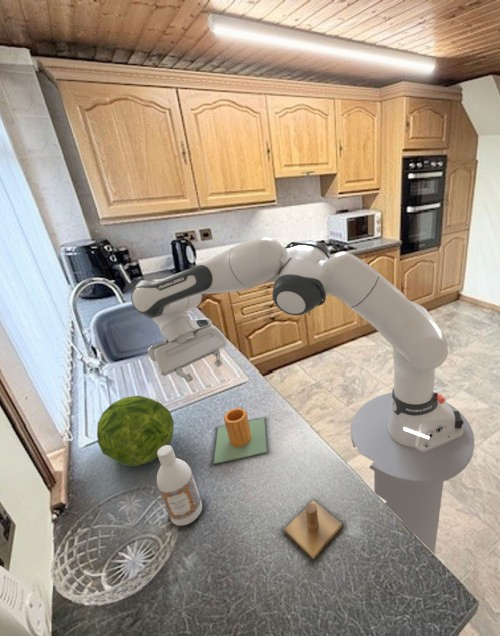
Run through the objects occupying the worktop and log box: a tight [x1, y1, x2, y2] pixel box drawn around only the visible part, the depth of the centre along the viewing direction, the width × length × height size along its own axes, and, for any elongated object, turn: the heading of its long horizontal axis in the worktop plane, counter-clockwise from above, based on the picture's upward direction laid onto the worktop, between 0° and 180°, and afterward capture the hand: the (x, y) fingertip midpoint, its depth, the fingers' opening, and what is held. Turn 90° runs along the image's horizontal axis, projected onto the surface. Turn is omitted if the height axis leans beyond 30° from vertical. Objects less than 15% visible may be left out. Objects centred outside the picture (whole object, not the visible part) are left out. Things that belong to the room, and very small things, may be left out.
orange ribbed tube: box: [223, 407, 251, 447], centre depth 99 cm, size 6×6×9 cm
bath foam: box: [156, 444, 203, 527], centre depth 77 cm, size 7×7×20 cm
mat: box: [213, 418, 268, 465], centre depth 101 cm, size 14×14×1 cm
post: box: [283, 499, 343, 560], centre depth 75 cm, size 9×9×7 cm
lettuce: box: [96, 395, 174, 467], centre depth 96 cm, size 17×23×17 cm
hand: (205, 373), depth 100 cm, fingers open, 8 cm apart
